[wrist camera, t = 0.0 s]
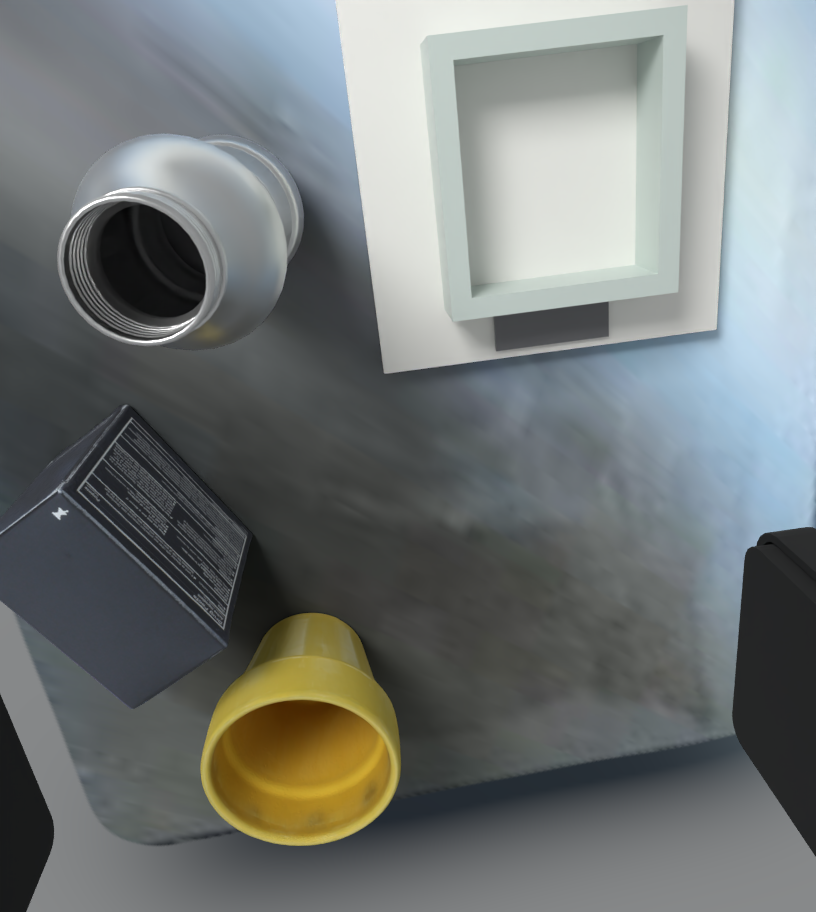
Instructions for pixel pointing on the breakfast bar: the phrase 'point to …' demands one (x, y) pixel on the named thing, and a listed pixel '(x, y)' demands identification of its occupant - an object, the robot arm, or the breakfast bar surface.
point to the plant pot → (303, 738)
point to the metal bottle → (180, 240)
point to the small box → (124, 559)
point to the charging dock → (538, 170)
